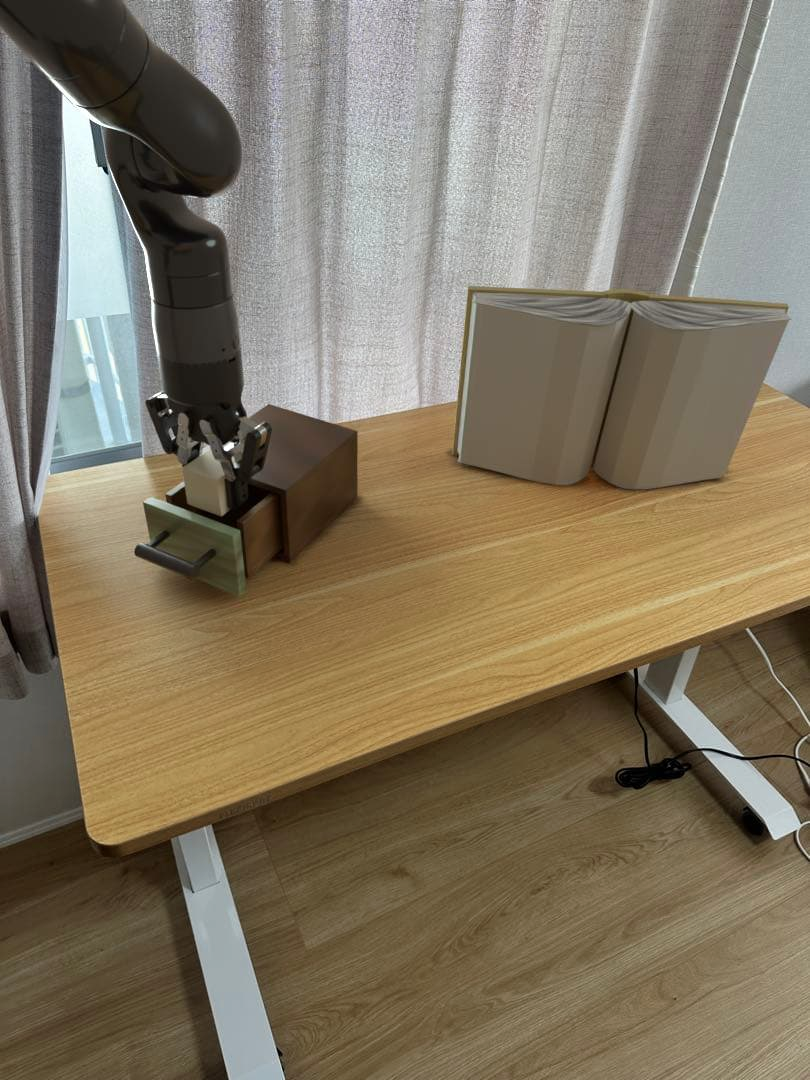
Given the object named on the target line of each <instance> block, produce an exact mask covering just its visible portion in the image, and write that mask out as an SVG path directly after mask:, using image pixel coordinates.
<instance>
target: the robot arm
mask: <svg viewBox="0 0 810 1080" xmlns="http://www.w3.org/2000/svg"><path fill="white" fill-rule="evenodd" d="M0 29H1V30H2V31H3V32H4V34H5V35H6V36H7V37H8V38H9V40H11V41H12V42H13V44H15V45H16V47H17V48H18V49H19V50H20V51H21V52H22V53H23V54H24V55H25V56H26V57H27V59H28V60H29V61H30V62H31V63H32V64H33V65H34V66H35V67H36V68H37V69H38V70H39V71H40V72H41V73H42V74H43V75H44V76H45V78H46V79H47V80H48V81H49V82H50V83H51V84H52V85H53V86H54V87H55V88H56V89H57V90H58V91H59V92H60V93H61V94H62V95H63V97H65V98H66V99H67V101H68V102H69V103H70V104H71V105H73V107H75V108H76V110H78V111H79V112H80V113H81V114H83V115H84V116H85V117H86V118H87V119H89V120H91V121H92V122H94V123H96V124H98V125H100V126H103V127H104V149H105V155H106V161H107V162H108V163H107V164H108V168H109V171H110V173H111V176H112V180H113V182H114V184H115V186H116V190H118V191H117V192H118V194H119V195H120V198H121V200H122V202H123V205H124V207H125V210H126V212H127V215H128V217H129V219H130V222H131V225H132V227H133V229H134V232H135V234H136V236H137V238H138V240H139V242H140V245H141V247H142V249H143V253H144V258H145V259H144V260H145V266H146V267H145V268H146V274H147V280H148V285H149V292H150V299H151V300H150V301H151V324H152V331H153V337H154V343H155V350H156V357H157V363H158V369H159V375H160V382H161V389H162V390H161V391H160V392H158V393H155V394H154V395H152V396H151V397H149V398H147V399H146V400H145V402H144V403H145V407H146V409H147V412H148V414H149V417H150V419H151V422H152V424H153V427H154V430H155V432H156V434H157V438H158V439H159V443H160V445H161V447H162V450H163V451H164V453H166V454H167V455H172V454H173V455H175V456H176V457H177V461H178V462H179V463H180V464H181V466H182V468H183V467H184V466H186V465H187V464H189V463H190V462H192V461H193V460H195V459H196V458H198V457H199V455H200V454H201V453H202V450H203V448H204V444H205V445H206V446H207V445H209V446H210V448H211V451H212V453H213V456H214V459H215V460H217V461H219V462H220V464H221V466H222V469H223V472H224V474H225V477H226V479H224V481H225V489H226V498H227V506H228V508H230V509H232V510H236V509H237V508H239V507H240V506H241V505H242V504H244V502H245V501H247V499H248V497H249V496H248V489H247V488H248V486H247V481H248V480H249V479H251V477H252V476H254V475H255V474H256V473H258V472H260V471H261V470H262V469H263V468H264V463H265V459H266V454H267V450H268V445H269V441H270V437H271V432H272V427H271V425H270V424H269V423H267V422H263V423H261V424H260V425H259V424H257V423H255V422H254V421H252V420H251V419H249V417H248V415H247V411H246V408H245V406H244V404H243V403H242V395H243V392H244V387H245V377H244V365H243V355H242V343H241V335H240V334H241V332H240V323H239V322H240V321H239V315H238V311H237V306H236V303H235V297H234V288H233V277H232V269H231V268H232V267H231V256H230V247H229V242H228V238H227V236H226V234H225V232H224V231H223V229H222V228H221V227H219V226H218V225H217V224H216V223H213V222H212V221H210V220H207V219H206V218H204V217H201V216H200V215H198V214H197V213H195V212H194V211H193V210H191V208H190V207H189V205H188V204H187V201H186V200H185V197H189V198H190V197H191V198H197V199H213V198H217V197H220V196H223V195H224V194H226V193H227V192H229V190H231V189H232V188H233V187H234V186H235V184H236V183H237V181H238V179H239V177H240V175H241V171H242V169H243V168H242V167H243V160H244V150H243V149H244V148H243V141H242V137H241V134H240V131H239V128H238V126H237V123H236V121H235V120H234V118H233V116H232V114H231V113H230V111H229V109H228V108H227V107H226V105H225V103H223V101H222V100H221V99H220V98H219V97H218V96H217V95H216V94H215V93H214V92H213V91H212V90H211V89H210V88H209V87H208V86H207V85H206V84H204V83H203V82H202V81H201V80H200V79H199V78H198V77H196V76H195V74H193V73H192V72H190V71H189V70H188V69H187V68H186V67H185V66H184V65H182V63H180V62H179V61H178V60H177V59H175V58H174V57H173V56H172V55H170V54H169V53H167V52H166V51H165V50H163V49H162V48H161V47H160V46H158V45H157V44H156V43H155V42H154V41H153V40H152V39H151V37H150V36H149V35H148V33H147V31H146V30H145V28H144V27H143V26H142V25H141V23H140V22H139V20H138V19H137V18H136V16H135V15H134V14H133V12H132V11H131V9H129V7H128V5H126V3H125V1H124V0H0ZM184 196H185V197H184ZM170 429H171V432H172V433H173V436H174V437H171V434H170ZM241 431H242V433H241ZM242 434H243V436H242ZM228 442H230V444H229V445H227V446H226V447H223V445H225V444H227V443H228ZM233 456H234V459H235V462H236V464H234V465H233V462H232V457H233ZM182 468H181V469H182Z"/></svg>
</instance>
